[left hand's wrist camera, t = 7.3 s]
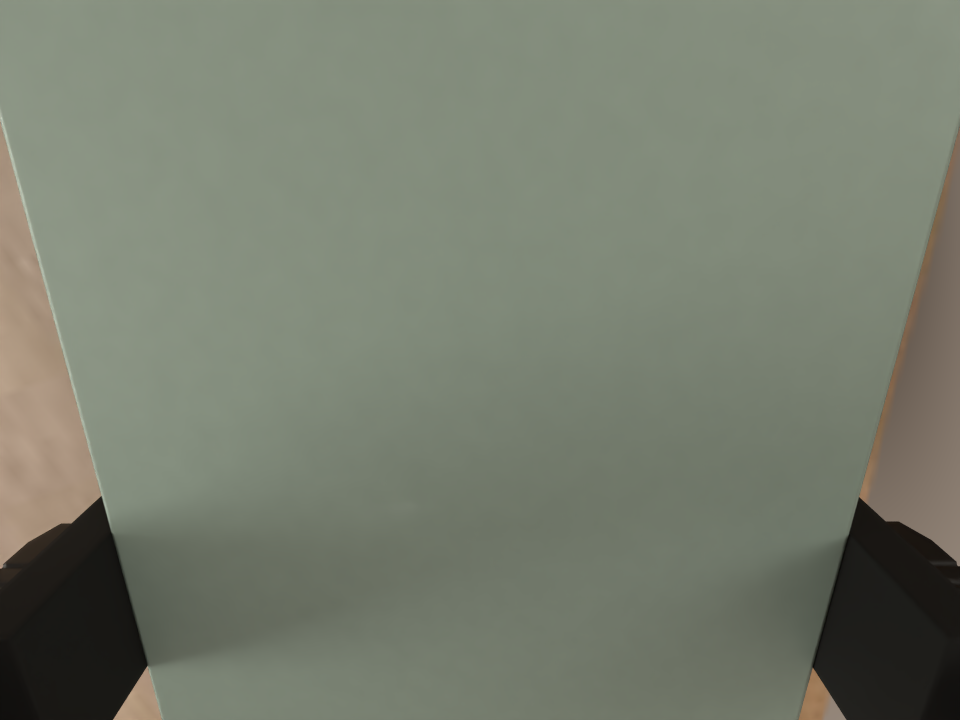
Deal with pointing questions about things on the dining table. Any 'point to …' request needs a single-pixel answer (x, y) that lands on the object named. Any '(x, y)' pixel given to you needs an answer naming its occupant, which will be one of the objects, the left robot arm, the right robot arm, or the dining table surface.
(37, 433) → the dining table surface
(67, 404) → the dining table surface
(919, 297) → the dining table surface
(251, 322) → the cabinet
